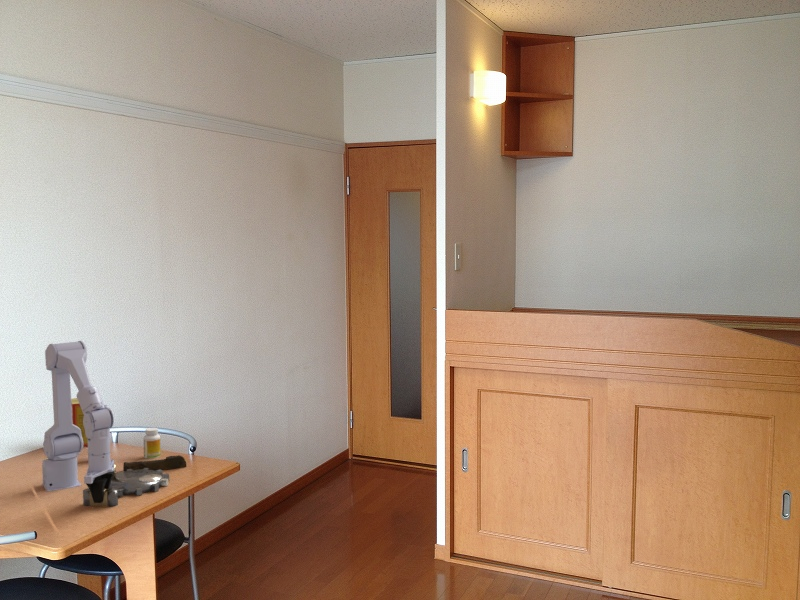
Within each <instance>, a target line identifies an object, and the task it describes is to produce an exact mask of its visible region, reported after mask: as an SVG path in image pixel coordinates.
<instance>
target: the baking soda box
mask: <svg viewBox="0 0 800 600" xmlns="http://www.w3.org/2000/svg"><path fill="white" fill-rule="evenodd" d="M71 407H72V424H74V425H76V426H77V427H79V428H80V429H81V435H82V438H83V448H85V447H87V448H88V438H87V437H86V435H85V428H84V425H83V417H84V414H83V411H82V409H81V406H80V404H79V401H78V399H77V397H75V398H71Z"/></svg>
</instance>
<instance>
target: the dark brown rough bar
mask: <svg viewBox="0 0 800 600" xmlns="http://www.w3.org/2000/svg"><path fill="white" fill-rule="evenodd" d="M144 468H149V470H155V471H156V470H159V469H160V470H163V471H164V470H165V471H166V470H167V471H169V470H177V469H181V468H187V461H186V459H185V458H184V457H183V456H182V455H170V456H166V457H165V458H163V459H155V460H154V459H152V460H145V461H143V460H141V461H131V462H128V461H127V462H126V461H124V462H123V468H122V469H123V471H127V469H132V470H138V469H144ZM123 471H122V472H123Z"/></svg>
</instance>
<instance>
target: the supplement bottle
mask: <svg viewBox="0 0 800 600" xmlns="http://www.w3.org/2000/svg"><path fill="white" fill-rule="evenodd" d="M161 456H162V455H161V436H160V434H159V428H157V427H149V428H145V435H144V437H143V458H144V459H154V458H155V459H156V458H159V457H161Z"/></svg>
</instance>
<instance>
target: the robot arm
mask: <svg viewBox="0 0 800 600" xmlns="http://www.w3.org/2000/svg"><path fill="white" fill-rule="evenodd" d="M87 349H88V348H87V346H86V344H85V343H84V342H83V341H82V340H78V341H69V342H62V343H61V342H60V343H49V344H48V345H47V347H46V349H45V351H44V355H45V356H44V357H45V359H44V360H45V367H46V370H47V371H50V373H51V386H52V388H51V389H52V406H53V407H52V408H53V425H52V426H51V427H49V429H47V430H46V431H45V432H44V437H43V438H44V439H43V443H42V449H43V452H44V455H45V457H47V459H46V458H45V459H43V460H42V463H41V464H42V465H41V469H42V473H41V475H42V486H43V487H44V489H45V491H46V492H53V491H58V490H65V489H70V488H76V487H81V486H82V484H81V482H80V481H79V480H78V479H79V477H78V473H79V471H78V457H79V456H80V453H81V452H82V450H83V449H84V447H83V438H82V435H81V429H80V428H79V427H77V426H76V425H74V424H72V407H71V399H72V390H71V389H72V388H71V387H72V386H71V379H72V380H73V384H75V387H76V388H77V390H78V392H77V393H76V398H77V399H78V401H79V404H80V406H81V409H82V411H83V414H84V417H83V425H84V428H85V435H86V437H87V438H88V446H87V449H88V452H87V461H88V462H87V465H88V468H87V469H86V473H85V475H84V476H83V483H84V484H85V485H86V486H87V487H88V488H89V490H90V492H91V495H92V498H93V501H94V503H102V501H103V494H104V488H106V489H109V488H110V484H111V481H112V478H113V476H114V475H115V472H114V470H115V467H114V464H115V460H114V459H111V431H110V430H111V428H113V426H114V414H113V412H112V411H113V410H111V408H110V407H108V405H107V404H104V401H103V399H102V397H101V394H100V392H99V389H98V388H97V387H96V386H93V385H92V382H91V380H90V375H89V373H88V370H87V367H86V362H87V358H88V350H87ZM88 488H87V489H88Z"/></svg>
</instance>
